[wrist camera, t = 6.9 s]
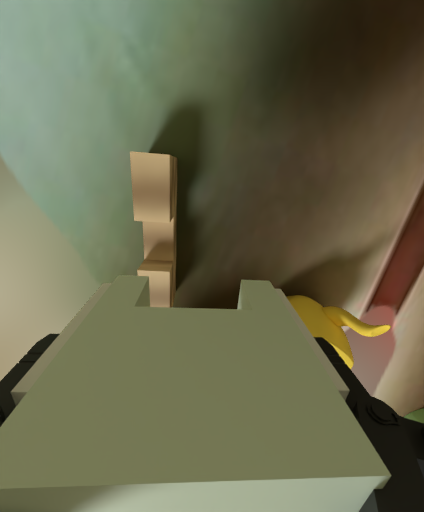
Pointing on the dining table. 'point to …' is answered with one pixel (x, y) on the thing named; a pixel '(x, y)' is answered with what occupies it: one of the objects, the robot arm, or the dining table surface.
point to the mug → (416, 415)
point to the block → (186, 416)
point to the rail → (157, 221)
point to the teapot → (332, 324)
